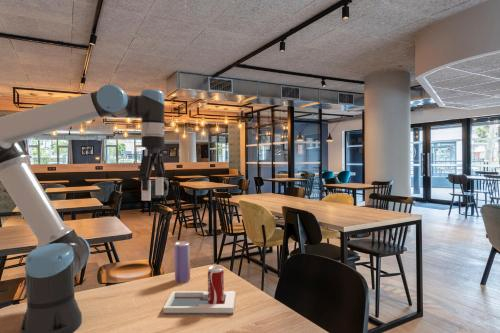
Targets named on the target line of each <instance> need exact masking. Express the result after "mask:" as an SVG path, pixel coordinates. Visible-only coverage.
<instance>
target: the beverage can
mask: <svg viewBox="0 0 500 333" xmlns="http://www.w3.org/2000/svg"><path fill="white" fill-rule="evenodd" d="M190 247H191V245H190V242H189V241H186V240H185V241H183V240H182V241H177V242H175V243H174V247H173V248H174V251H173V252H174V280H175V282H176V283H178V284H183V283H188V282H189V281H190V279H191V248H190Z"/></svg>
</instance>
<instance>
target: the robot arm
mask: <svg viewBox="0 0 500 333" xmlns="http://www.w3.org/2000/svg"><path fill="white" fill-rule="evenodd" d="M165 105H166V104H165V94H164V92H163V91H162V90H158V89H154V88H153V89H151V88H150V89H142V91H141V93H140V95H131V94H130V95H129V94H128V95H127V93H126V92H125V91H124V89H123V88H121V87H119V86H117V85H115V84H105V85H104V84H103V85H102V86H101V87H100V88H99V89H98V90H95V91H93V92H89V93H88V92H87V93H84V94H81V95H77V96H73V97H70V98H67V99H62V100H59V101H55V102H51V103H48V104H44V105H40V106H37V107H33V108H29V109H25V110H22V111H18V112H15V113H10V114H7V115H3V116H0V182H1V183H2V185H3V187H4V188H5V191H7V193H8V195H9V197H11V199H12V202H13V203H14V204H15V206H16V207H17V209H18V211H19V212H20V214H21V215H22V217H23V219H24V221H25V222H26V223H27V225H28V227H29V228H30V230H31V231H32V233H33V235H34V236H35V238H36V240H37V245H36V248H34V249H32V250H31V251H30V252H28V254H27V255H26V257H25V266H24V270H25V284H26V285H25V286H26V287H25V289H26V310H25V314H24V317H23V319H22V322H21V325H20V328H19V333H74V332H75V331H77V330H78V329H79V328H80V327H81V325H82V323H83V319H82V318H83V315H82V312H81V309H80V307H79V305H78V302H77V300H76V297H75V277H76V275H77V274H78V273H79V272H80V271H81V270H82V269H83V268H84V267H85V266H86V265H87V262H88V260H89V258H90V255H91V247H90V244H89V242H88V241H87V240H86V239H85V238H83V237H81V236H80V235H78V233H77V232H76V231H75V229H74V228H73V227H71V226H70V227H69V226H66V225H65V222H64V221H63V219H62V217H61V216H60V214H59V213H58V211H57V209H56V207H55V205H53V202H52V201H51V199H50V197H49V196H48V194H47V193H46V192H45V189H44V188H43V186H42V184H41V183H40V181H39V180H38V178H37V176H36V175H35V173H34V172H33V170H32V168H31V167H30V164H29V160H30V158H31V156H30V154H29V152H28V151H27V147H28V146H27V140H28V139H32V138H34V137H39V136H42V135H45V134H48V133H53V132H56V131H59V130H62V129H66V128H70V127H73V126H76V125H79V124H82V123H86V122H90V121H93V120H94V121H95V120H96V119H100V118H103V117H106V118H114V119H117V118H122V119H124V118H125V119H127V118H128V119H129V118H131V119H141V124H140V125H141V128H140V130H141V133H140V134H141V135H142V136H141V148H146V149H142V150H141V151H142V153H141V154H142V155H141V161H140V166H139V172H138V177H137V178H138V179H137V180H138V181H141V201H144V202H145V201H149V202H150V201H151V199H152V198H151V195H152V194H151V190H152V188H151V187H152V184H151V182H152V180H150V179H151V174H152V172H153V169H154V172H155V175H156V176H155V180H154V181H155V182H154V183H155V196H164V178H166V176H167V174H166V169H165V168H166V167H165V162H164V156H163V155H164V154H163V153H164V151H163V150H162V149H163V148H165V137H164V135H165V130H166V128H167V127H166V126H165ZM160 148H162V149H161V150H160Z"/></svg>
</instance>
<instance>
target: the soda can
mask: <svg viewBox="0 0 500 333" xmlns="http://www.w3.org/2000/svg"><path fill="white" fill-rule="evenodd" d="M224 273H225V272H224V268H223V266H220V265H213V266H210V267H209V268H208V271H207V291H208V304H223V303H224V291H225V282H224V281H225V274H224Z"/></svg>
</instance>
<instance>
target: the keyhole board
mask: <svg viewBox="0 0 500 333" xmlns="http://www.w3.org/2000/svg"><path fill="white" fill-rule="evenodd" d="M235 304H236V291H235V290H229V291H228V290H227V291H226V290H224V303H223V304H208V290H199V291H198V290H194V291H193V290H187V291H186V290H178V291H177V290H173V291H172V292H171V293H170V295H169V297H168V299H167V301H166V302H165V304H164V306H162V308H163V310H162V311H163V312H162V315H165V316H167V315H168V316H170V315H172V316H174V315H175V316H176V315H179V316H181V315H183V316H185V315H188V316H190V315H193V316H194V315H195V316H196V315H197V316H198V315H201V316H203V315H205V316H206V315H211V316H212V315H216V316H217V315H223V316H224V315H225V316H226V315H227V316H229V315H231V316H233V315H234V311H235Z"/></svg>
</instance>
